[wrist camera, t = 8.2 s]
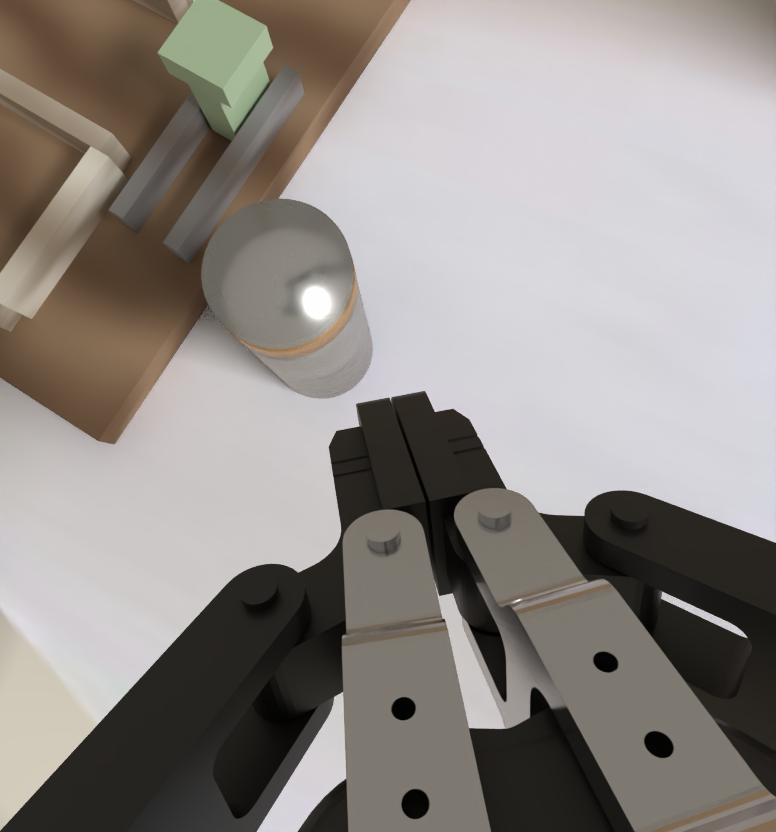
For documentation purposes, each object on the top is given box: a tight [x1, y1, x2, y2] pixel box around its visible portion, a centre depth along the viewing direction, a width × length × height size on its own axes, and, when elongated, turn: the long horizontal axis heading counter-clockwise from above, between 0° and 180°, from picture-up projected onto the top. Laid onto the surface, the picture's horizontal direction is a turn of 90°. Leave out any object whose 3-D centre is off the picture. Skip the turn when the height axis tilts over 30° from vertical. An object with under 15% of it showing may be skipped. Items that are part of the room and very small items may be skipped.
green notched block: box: [158, 0, 273, 141], centre depth 27 cm, size 3×3×5 cm
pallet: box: [0, 0, 410, 444], centre depth 30 cm, size 30×20×4 cm, turn 148°
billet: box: [201, 199, 373, 398], centre depth 24 cm, size 5×5×10 cm
